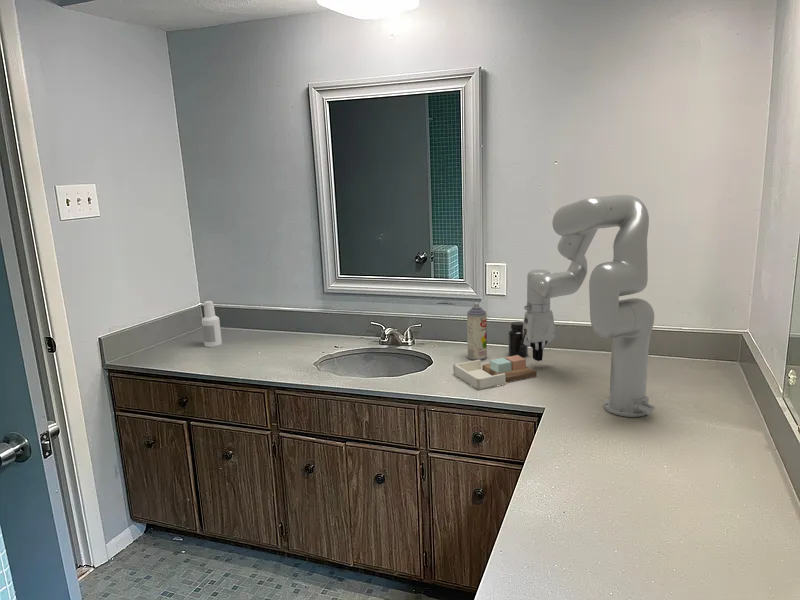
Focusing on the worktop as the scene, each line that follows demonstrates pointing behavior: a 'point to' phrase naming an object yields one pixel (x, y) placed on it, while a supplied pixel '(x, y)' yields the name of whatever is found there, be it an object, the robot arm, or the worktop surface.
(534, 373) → the walnut board
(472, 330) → the aerosol can
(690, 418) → the worktop surface
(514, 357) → the clay tile
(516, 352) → the supplement bottle
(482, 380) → the box
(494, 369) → the teal tile
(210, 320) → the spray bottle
